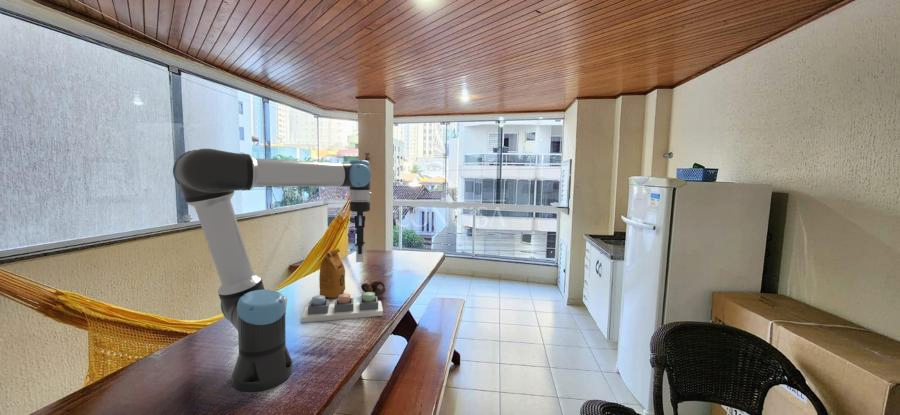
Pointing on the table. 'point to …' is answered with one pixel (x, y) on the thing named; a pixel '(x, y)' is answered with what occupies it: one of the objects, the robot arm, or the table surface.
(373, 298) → the sage button
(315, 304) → the slate button
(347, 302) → the terracotta button
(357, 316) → the button panel
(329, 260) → the coffee package
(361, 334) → the table surface
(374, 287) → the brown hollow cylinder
